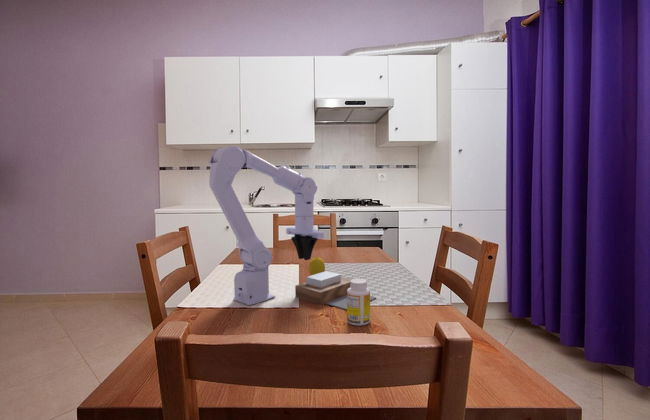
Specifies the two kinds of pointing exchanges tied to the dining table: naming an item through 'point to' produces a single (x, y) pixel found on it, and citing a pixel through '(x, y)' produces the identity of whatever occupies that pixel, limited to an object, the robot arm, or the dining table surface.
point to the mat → (342, 302)
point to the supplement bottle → (358, 303)
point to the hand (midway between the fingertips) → (304, 259)
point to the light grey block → (323, 279)
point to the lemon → (316, 266)
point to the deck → (322, 291)
